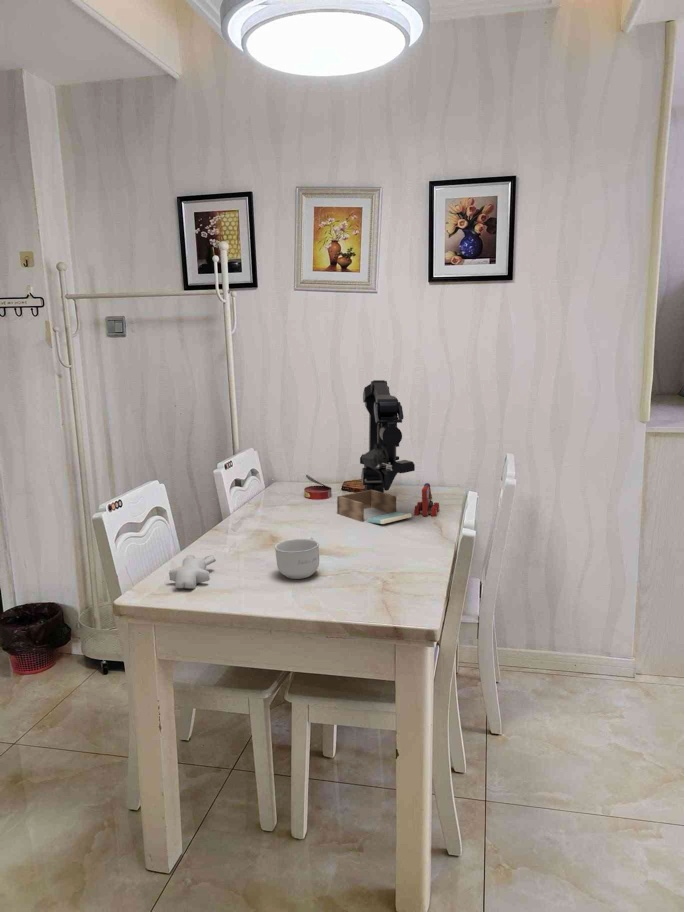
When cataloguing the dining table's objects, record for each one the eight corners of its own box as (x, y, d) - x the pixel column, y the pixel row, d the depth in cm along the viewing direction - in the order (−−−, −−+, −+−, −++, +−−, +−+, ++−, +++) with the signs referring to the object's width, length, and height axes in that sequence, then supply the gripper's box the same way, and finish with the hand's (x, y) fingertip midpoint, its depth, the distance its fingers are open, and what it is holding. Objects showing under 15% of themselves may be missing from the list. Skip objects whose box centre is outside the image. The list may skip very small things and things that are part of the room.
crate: (337, 517, 217) (337, 496, 215) (371, 510, 225) (371, 489, 224) (361, 525, 207) (361, 503, 206) (396, 517, 216) (396, 496, 215)
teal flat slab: (367, 518, 207) (382, 520, 201) (395, 512, 214) (411, 513, 209) (367, 521, 207) (382, 523, 201) (396, 515, 214) (411, 516, 209)
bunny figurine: (162, 575, 156) (181, 547, 170) (164, 595, 157) (183, 566, 171) (203, 576, 155) (219, 548, 169) (204, 596, 156) (220, 566, 171)
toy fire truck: (440, 512, 223) (440, 481, 221) (435, 522, 211) (435, 489, 209) (419, 510, 225) (419, 480, 223) (413, 520, 213) (413, 488, 211)
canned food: (307, 506, 249) (306, 480, 252) (334, 504, 247) (333, 478, 250) (300, 499, 238) (299, 472, 241) (328, 497, 236) (327, 469, 239)
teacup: (302, 586, 159) (302, 553, 158) (266, 577, 165) (265, 545, 163) (334, 568, 171) (334, 537, 169) (299, 561, 176) (299, 531, 175)
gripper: (346, 438, 206) (346, 488, 209) (388, 447, 192) (388, 501, 195) (373, 434, 213) (373, 483, 216) (416, 443, 199) (415, 494, 202)
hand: (386, 490), depth 207 cm, fingers closed
